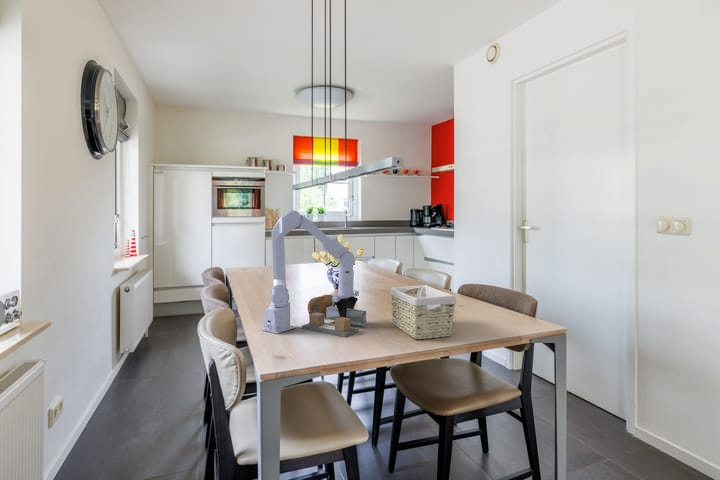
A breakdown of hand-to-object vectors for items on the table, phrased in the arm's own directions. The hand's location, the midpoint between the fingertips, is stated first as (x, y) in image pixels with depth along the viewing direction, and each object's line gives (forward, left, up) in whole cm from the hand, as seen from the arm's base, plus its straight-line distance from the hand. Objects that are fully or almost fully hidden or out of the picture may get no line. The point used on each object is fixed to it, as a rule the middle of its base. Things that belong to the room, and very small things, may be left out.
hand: (346, 317), depth 152 cm
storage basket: (+10, -27, -3) cm, 29 cm away
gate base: (-9, +1, -3) cm, 10 cm away
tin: (+6, +17, -3) cm, 18 cm away
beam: (0, 0, -2) cm, 2 cm away
